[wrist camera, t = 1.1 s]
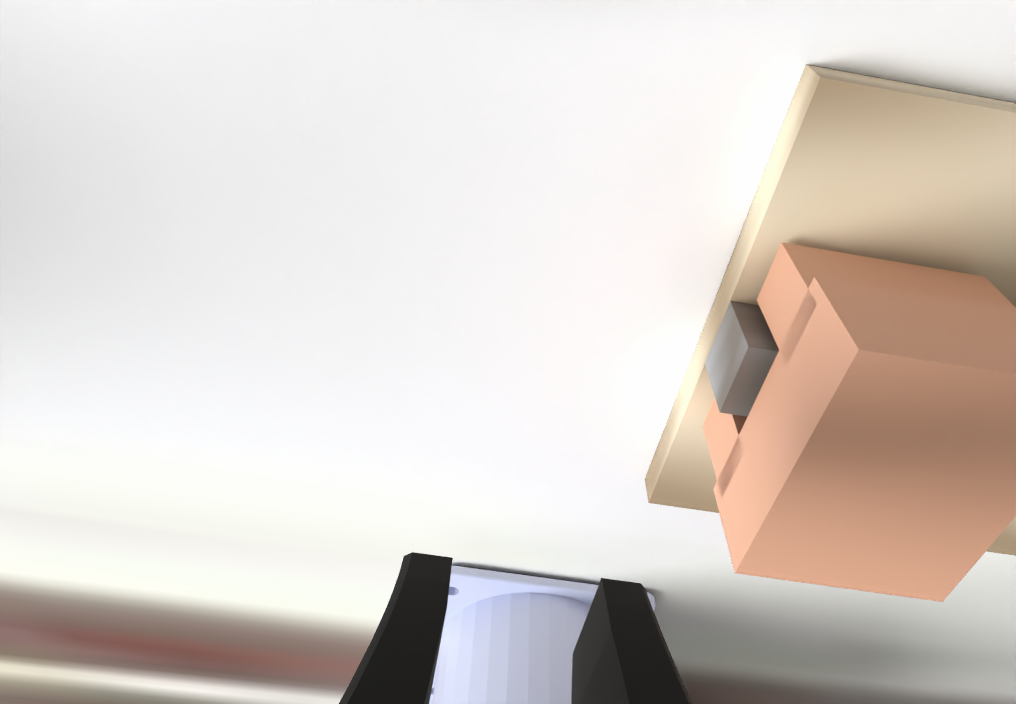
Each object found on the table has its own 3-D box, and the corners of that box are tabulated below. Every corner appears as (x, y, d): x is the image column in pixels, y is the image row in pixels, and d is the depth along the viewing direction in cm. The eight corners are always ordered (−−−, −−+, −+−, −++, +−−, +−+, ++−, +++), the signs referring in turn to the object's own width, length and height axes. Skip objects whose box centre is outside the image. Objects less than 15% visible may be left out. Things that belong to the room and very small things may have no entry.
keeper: (868, 459, 21) (942, 601, 17) (699, 434, 20) (735, 572, 16) (991, 265, 17) (1122, 391, 13) (786, 231, 17) (858, 349, 13)
